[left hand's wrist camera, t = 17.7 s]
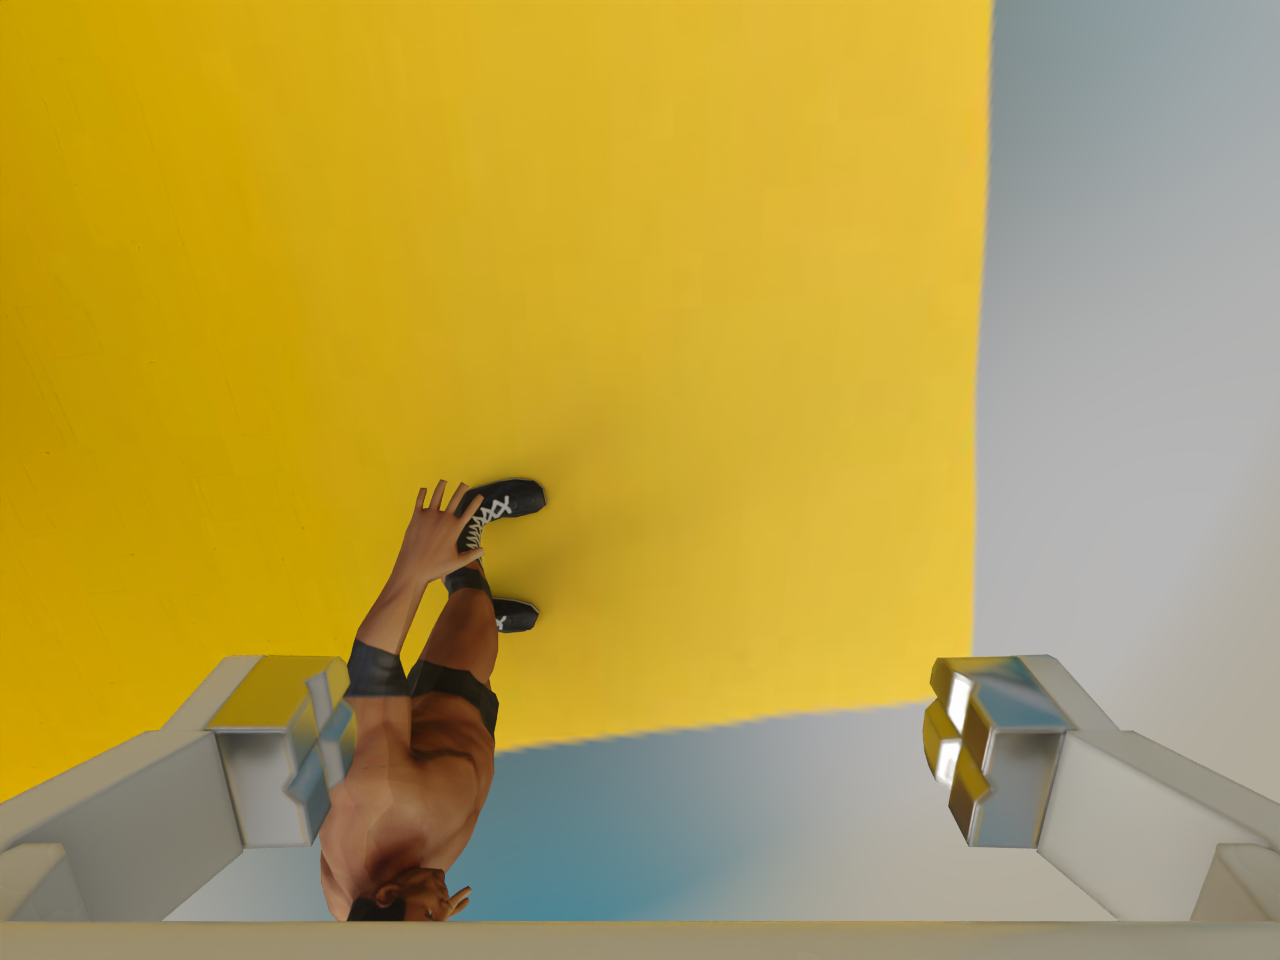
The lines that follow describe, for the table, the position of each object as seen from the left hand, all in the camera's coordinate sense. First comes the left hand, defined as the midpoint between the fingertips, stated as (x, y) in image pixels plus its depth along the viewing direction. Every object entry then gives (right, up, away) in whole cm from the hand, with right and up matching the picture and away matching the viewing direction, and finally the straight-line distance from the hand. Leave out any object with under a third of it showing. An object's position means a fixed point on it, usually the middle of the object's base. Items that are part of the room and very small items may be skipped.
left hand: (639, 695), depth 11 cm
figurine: (-10, -2, +42) cm, 43 cm away
